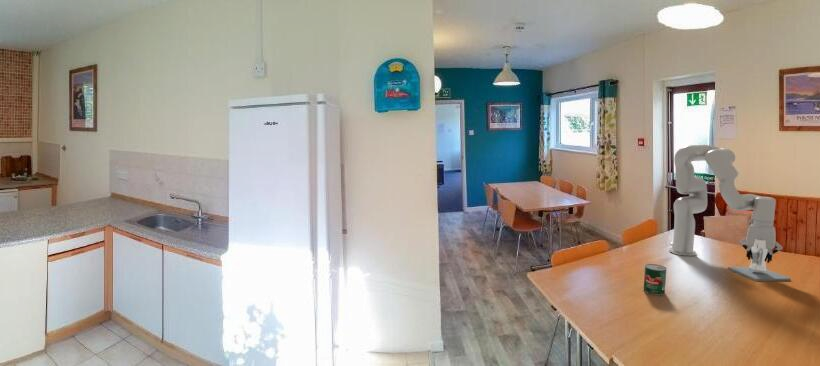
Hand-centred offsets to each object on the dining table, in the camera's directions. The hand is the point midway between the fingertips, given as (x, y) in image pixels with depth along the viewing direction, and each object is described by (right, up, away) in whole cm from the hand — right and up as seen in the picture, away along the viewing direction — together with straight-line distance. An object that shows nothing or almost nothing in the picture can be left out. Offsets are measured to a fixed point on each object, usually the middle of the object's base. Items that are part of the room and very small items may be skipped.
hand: (758, 260), depth 190 cm
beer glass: (0, -5, +1) cm, 5 cm away
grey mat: (0, -7, +1) cm, 7 cm away
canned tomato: (-60, -10, -17) cm, 63 cm away
